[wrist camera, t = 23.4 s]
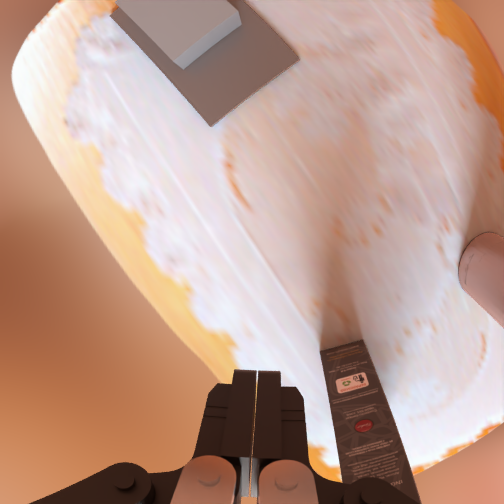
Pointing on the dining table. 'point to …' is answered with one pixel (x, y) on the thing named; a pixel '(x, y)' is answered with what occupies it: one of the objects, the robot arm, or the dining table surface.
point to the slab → (183, 24)
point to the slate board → (221, 63)
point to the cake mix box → (364, 420)
